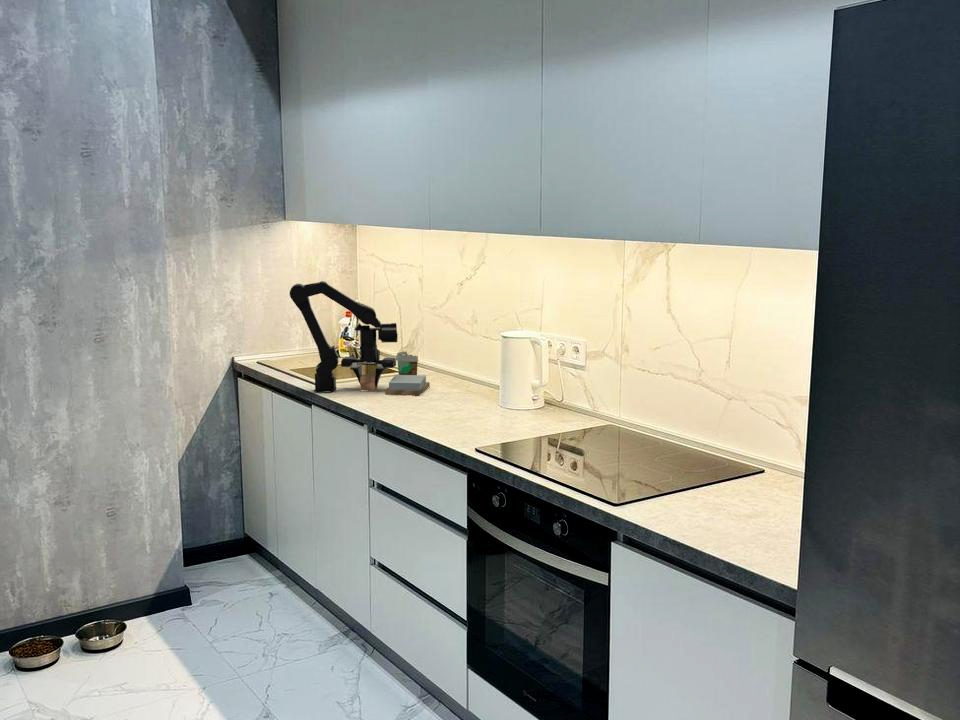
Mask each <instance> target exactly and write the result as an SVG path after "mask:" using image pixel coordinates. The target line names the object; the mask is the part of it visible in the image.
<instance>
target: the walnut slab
mask: <svg viewBox="0 0 960 720" xmlns="http://www.w3.org/2000/svg"><path fill="white" fill-rule="evenodd" d="M430 384H431V383H430V382H428V381H426V383H425V384H424V386H423V387H422V389H421V390H389V386H387V388H385V389H384V390H385V391H384V394H385V395H386V396H387V395H388V396H390V395H391V396H407V395H412V397H414V396H413V395H416V396H415V397H420V396H421V395H422V394H423V393H424V392H426V391H427V390H428V389H429V388H430V386H431V385H430ZM428 387H429V388H428ZM427 388H428V389H427ZM426 389H427V390H426ZM425 390H426V391H425ZM420 394H421V395H420Z"/></svg>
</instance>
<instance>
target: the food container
mask: <svg viewBox="0 0 960 720" xmlns="http://www.w3.org/2000/svg"><path fill="white" fill-rule="evenodd" d="M395 359H396V362H397V367H398V368H397V369H398V370H397V372H398V373H397V374H398V375H418V363H419V356H418V355H413V354H408V351H400V352H397V353H396V357H395Z"/></svg>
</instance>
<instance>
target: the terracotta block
mask: <svg viewBox="0 0 960 720" xmlns="http://www.w3.org/2000/svg"><path fill="white" fill-rule="evenodd" d="M378 385H379V384H378ZM378 385H377V387H376V386H375V374H362V376H361V377H360V383H359V386H360V387H359V389H360V390H368V391H367V392H375V391H376V390H378V389H377V388H378V387H379V386H378Z"/></svg>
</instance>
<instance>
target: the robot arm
mask: <svg viewBox="0 0 960 720" xmlns="http://www.w3.org/2000/svg"><path fill="white" fill-rule="evenodd" d="M319 294H321V295H324V296H325V297H327V298H329V299H330V300H331V301H334V302H335V303H336V304H338V305H339V306H342V307H343V308H345V310H348V311H349V312H351V313H352V315H354V316H355V317H356V318H357V319H358V320H359V321H360V322H361V323H362V324H364V325H362V324H361V323H358V324H357V325H356V326H355V327H354V331H356V332H359V356H360V357H359V359H356V356H345V357H343V358H342V359H341V361H340V366H341V368H349V370H351V371H353V372H354V374H355V376H356V378H357V380H358V383H359V384H360V377H361V376H362V375H363V373H362V368H363V365H364V366H377V367H376V368H375V374H374V375H375V386H376V387H377V385H379V382H380V379H381V375H382V373H383V371H385V370H386V369H393V368H394V367H396V366H397V360H396V357H383V359H381V355H380V354H381V350H379V349H378V345H377V340H378V341H379V340H380V342H381V343H383V344H384V343H398V337H399V336H398V335H399V334H398V327H397V323H396V322H392V323H382V322H381V321H380V320H379V319H378V318H377V314H376V311H375V309H374V308H373V307H371V306H369V305H366V304H364V303H361V302H358V301H356V300H354V299H352V298H351V297H349V296H348V295H346V294H344V293H343V292H341V291H340V290H338V289H336V288H335V287H333V286H332V285H330V284H329V283H328V282H327V281H325V280H324V281H323V280H321V281H319V282H314V283H308V284H302V283H296V284H293V285H292V286H291V288H290V289H289V296H290V298H291V301H292V302H293V303H294V304H295V306H296V307H297V309H298V310H299V311H300V312H301V314H302V316H303V318H304V321H305V323H306V326H307V328H308V330H309V331H310V334H311V337H312V338H313V340H314V343H315V344H316V345H315V346H316V347H317V350H318V355H319V359H320V362H319V363H318V364H316V367H315V372H316V373H314V389H313V392H314V391H332V392H334V391H335V390H336V389H337V377H336V376H335V372H333V371H334V370H335V369H336V368H337V367H338V366H339V358H340V355H339V353H338V352H337V350H336V346H335V344H334V345H330V344H329V342H328V341H327V338H326V336H325V334H324V332H323V330H322V328H321V325H320V323H319V322H318V321H319V320H318V319H317V317H316V315H315V312H314V310H313V308H312V305H311V301H310V297H313V296H317V295H319ZM370 325H371V326H372V327H371V326H370ZM377 338H378V339H377ZM334 389H335V390H334ZM333 390H334V391H333Z"/></svg>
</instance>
